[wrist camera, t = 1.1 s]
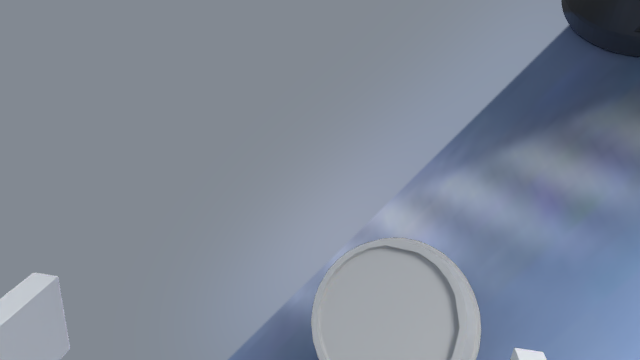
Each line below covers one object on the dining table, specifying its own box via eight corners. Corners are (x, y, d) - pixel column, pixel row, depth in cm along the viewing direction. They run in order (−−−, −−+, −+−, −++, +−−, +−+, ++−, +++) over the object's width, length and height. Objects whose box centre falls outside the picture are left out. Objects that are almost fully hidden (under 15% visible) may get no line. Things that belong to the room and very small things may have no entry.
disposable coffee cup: (374, 412, 32) (302, 417, 22) (367, 285, 37) (304, 243, 27) (510, 412, 29) (495, 419, 19) (485, 271, 33) (461, 218, 23)
